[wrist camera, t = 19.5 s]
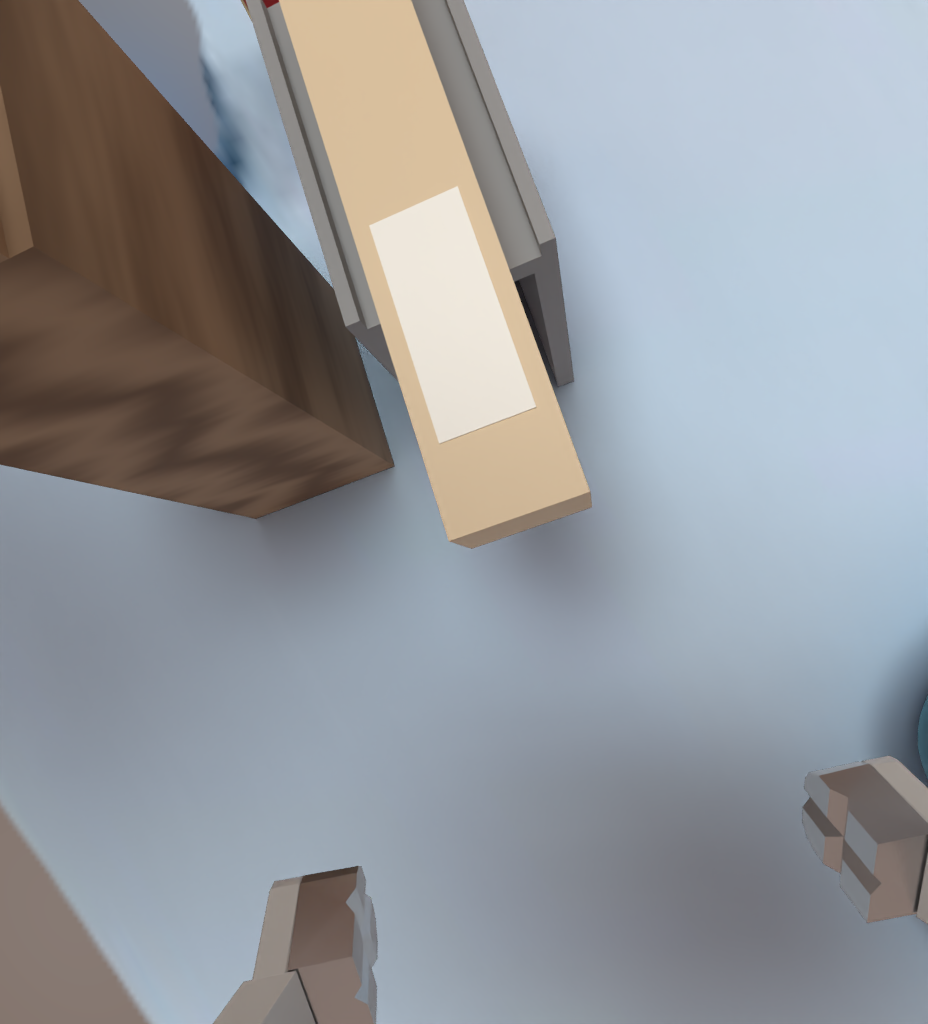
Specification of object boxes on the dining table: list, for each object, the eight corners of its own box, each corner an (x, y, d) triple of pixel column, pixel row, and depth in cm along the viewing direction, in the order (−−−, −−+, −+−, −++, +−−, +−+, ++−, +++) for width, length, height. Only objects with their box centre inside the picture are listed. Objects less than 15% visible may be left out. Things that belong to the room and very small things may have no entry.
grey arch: (445, 430, 39) (345, 326, 24) (374, 213, 42) (245, -2, 27) (574, 380, 38) (555, 237, 23) (491, 160, 41) (425, -99, 26)
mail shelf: (256, 518, 41) (-375, 384, 15) (213, 356, 43) (-401, -17, 17) (394, 466, 40) (-30, 207, 13) (343, 300, 42) (-109, -211, 15)
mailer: (471, 548, 23) (448, 540, 19) (302, 22, 27) (258, -62, 24) (591, 507, 22) (590, 491, 18) (397, -28, 26) (367, -121, 23)
